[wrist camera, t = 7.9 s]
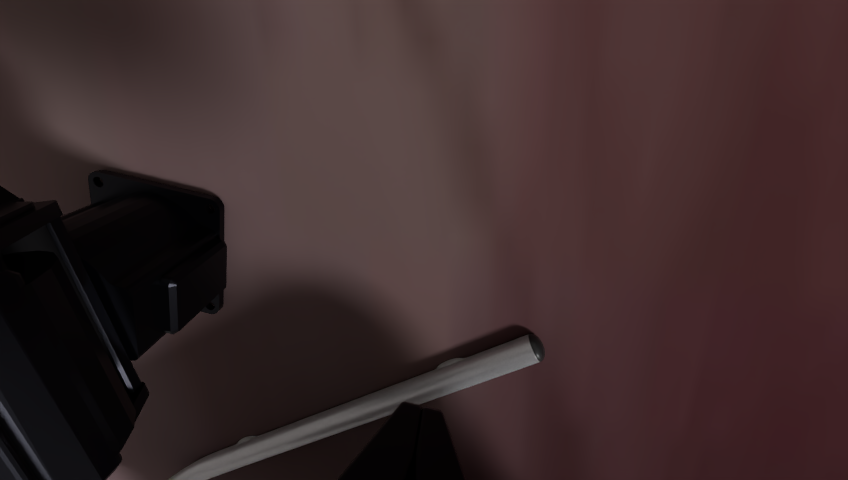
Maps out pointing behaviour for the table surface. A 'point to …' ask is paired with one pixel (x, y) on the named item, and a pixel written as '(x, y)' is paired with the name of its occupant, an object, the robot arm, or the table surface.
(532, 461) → the table surface
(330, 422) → the monitor stand
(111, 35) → the table surface
